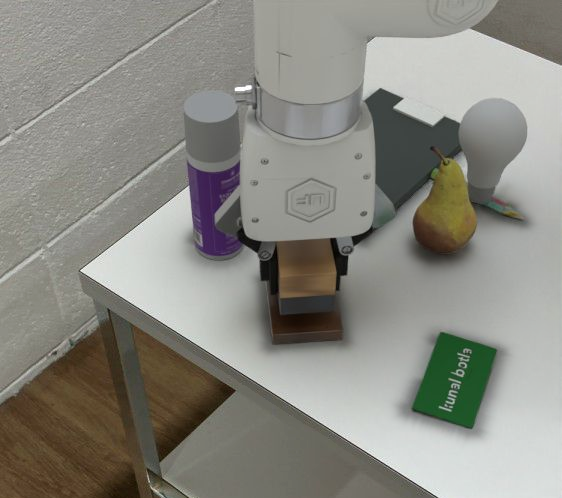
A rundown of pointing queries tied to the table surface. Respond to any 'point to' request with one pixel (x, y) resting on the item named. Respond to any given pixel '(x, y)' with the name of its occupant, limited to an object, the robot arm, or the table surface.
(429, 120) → the white rectangular block
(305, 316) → the eraser rest
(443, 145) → the board
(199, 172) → the container
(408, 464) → the table surface
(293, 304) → the eraser
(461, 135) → the lightbulb
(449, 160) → the fruit
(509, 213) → the pencil
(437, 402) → the business card
